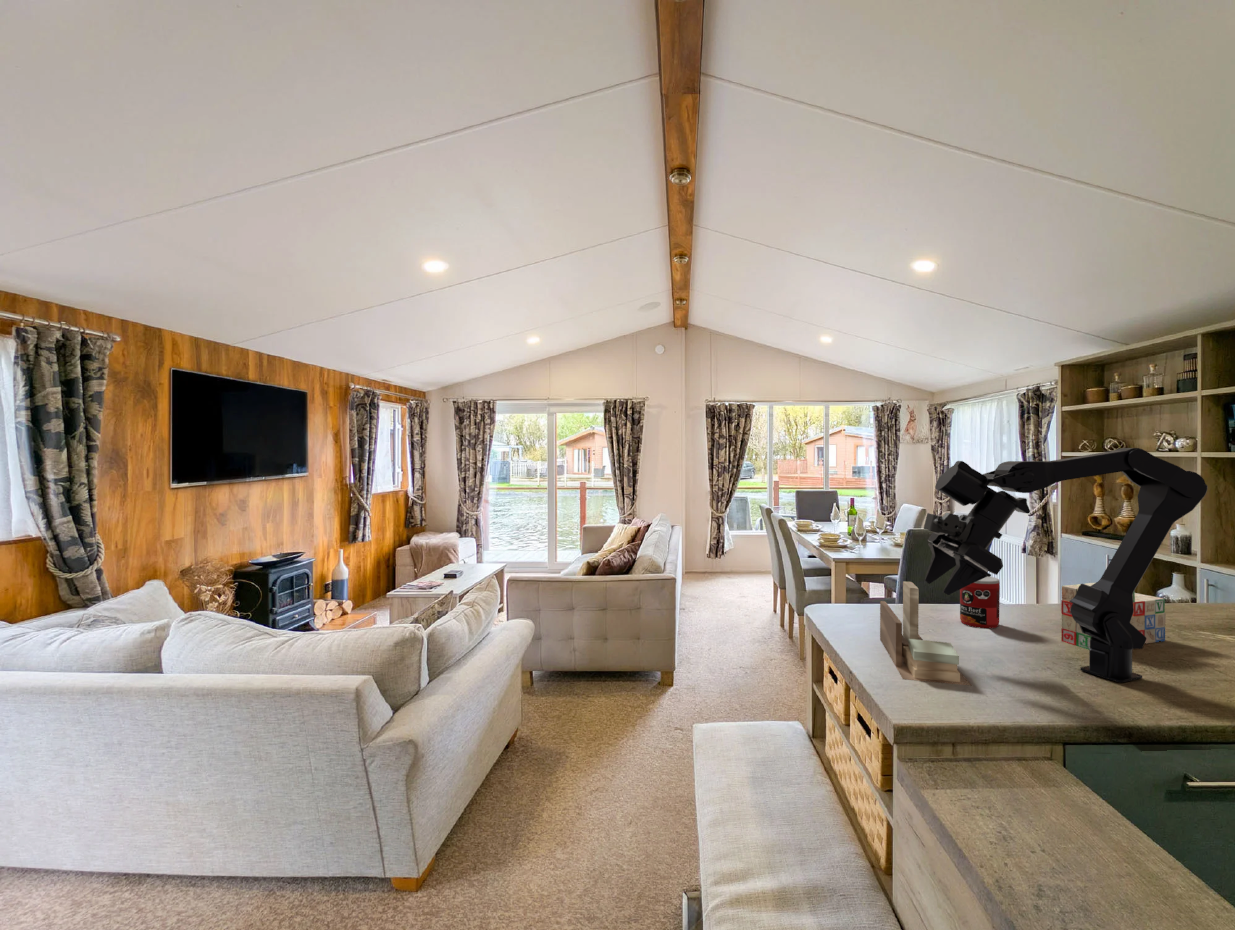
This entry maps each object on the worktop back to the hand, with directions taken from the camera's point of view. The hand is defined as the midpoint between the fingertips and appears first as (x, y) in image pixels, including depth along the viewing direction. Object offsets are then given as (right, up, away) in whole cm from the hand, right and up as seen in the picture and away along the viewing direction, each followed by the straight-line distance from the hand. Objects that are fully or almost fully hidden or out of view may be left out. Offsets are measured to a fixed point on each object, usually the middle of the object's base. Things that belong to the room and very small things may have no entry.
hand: (935, 587), depth 108 cm
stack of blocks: (+46, -15, +14) cm, 50 cm away
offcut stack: (-5, -13, -7) cm, 16 cm away
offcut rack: (-3, -15, -1) cm, 15 cm away
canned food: (+25, -15, +27) cm, 40 cm away
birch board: (-3, -13, +4) cm, 14 cm away
